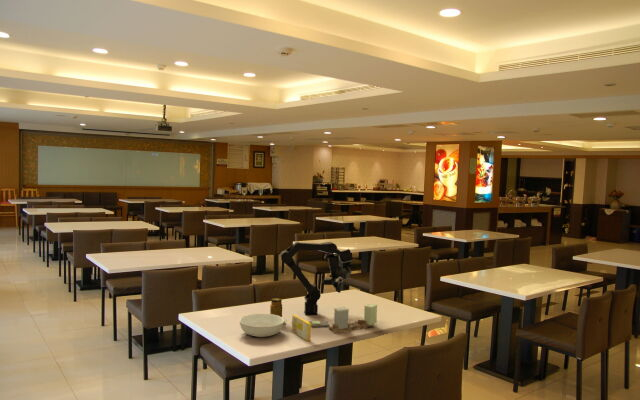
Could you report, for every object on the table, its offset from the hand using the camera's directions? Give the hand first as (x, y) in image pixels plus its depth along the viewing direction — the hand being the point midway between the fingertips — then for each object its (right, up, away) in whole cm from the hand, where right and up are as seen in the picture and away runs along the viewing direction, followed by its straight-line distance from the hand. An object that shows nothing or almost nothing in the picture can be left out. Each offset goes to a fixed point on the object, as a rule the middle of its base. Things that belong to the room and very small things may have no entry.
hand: (339, 292), depth 267 cm
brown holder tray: (+5, -13, -26) cm, 29 cm away
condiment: (-32, -12, -19) cm, 39 cm away
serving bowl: (-38, -13, -38) cm, 55 cm away
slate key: (0, -11, -32) cm, 34 cm away
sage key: (+15, -11, -24) cm, 30 cm away
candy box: (-20, -13, -40) cm, 46 cm away
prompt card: (-11, -12, -23) cm, 28 cm away
